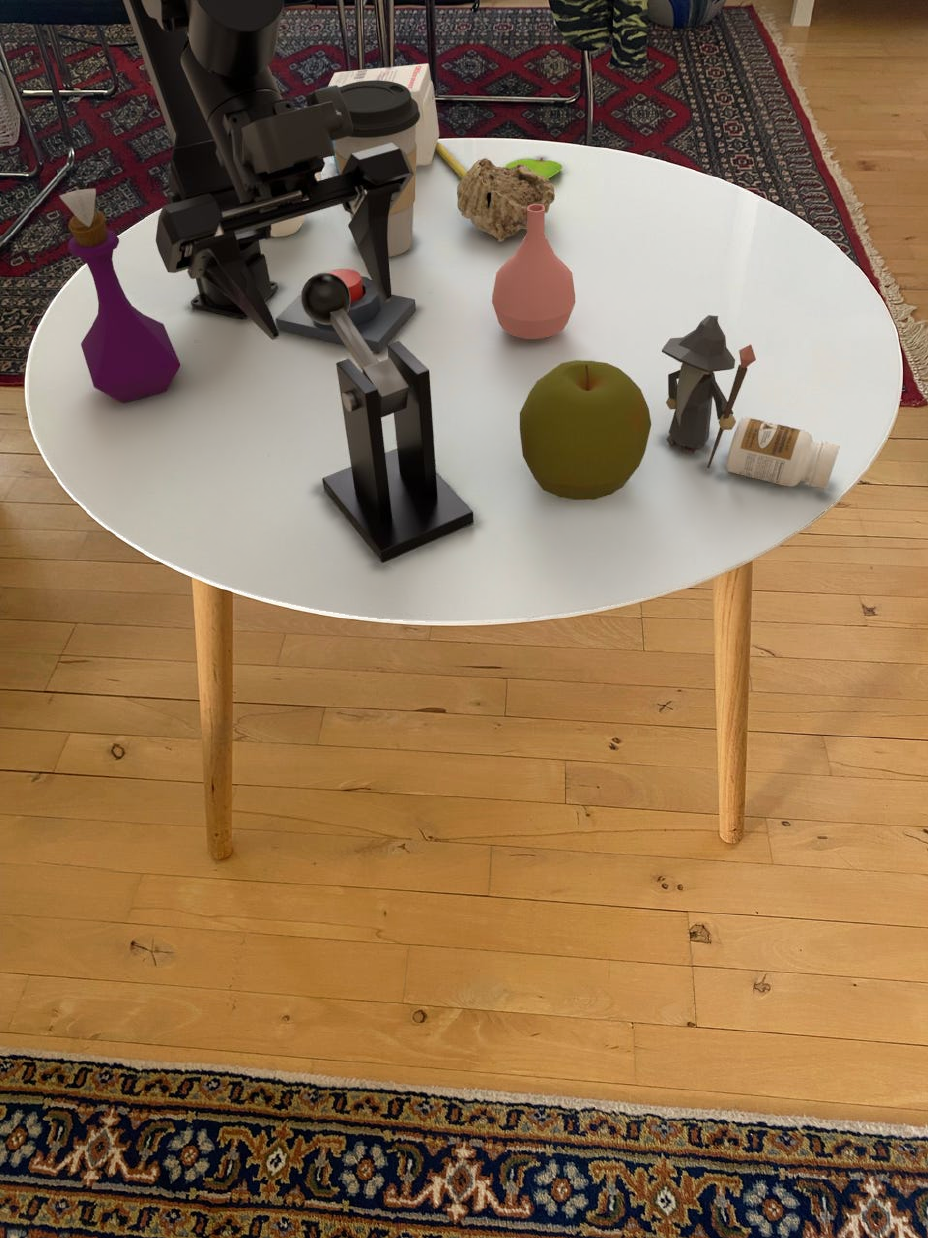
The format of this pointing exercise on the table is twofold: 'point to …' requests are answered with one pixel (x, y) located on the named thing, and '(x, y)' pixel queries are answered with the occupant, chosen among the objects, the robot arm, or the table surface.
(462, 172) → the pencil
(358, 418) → the bracket
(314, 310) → the lever
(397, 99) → the coffee cup
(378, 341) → the control block
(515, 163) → the decorative leaf
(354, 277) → the button
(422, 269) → the table surface
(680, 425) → the wizard figurine
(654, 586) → the table surface
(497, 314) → the pink vase
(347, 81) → the ink box
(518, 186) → the brown rough chunky piece
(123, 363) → the perfume bottle
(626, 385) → the apple
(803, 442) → the pill bottle
